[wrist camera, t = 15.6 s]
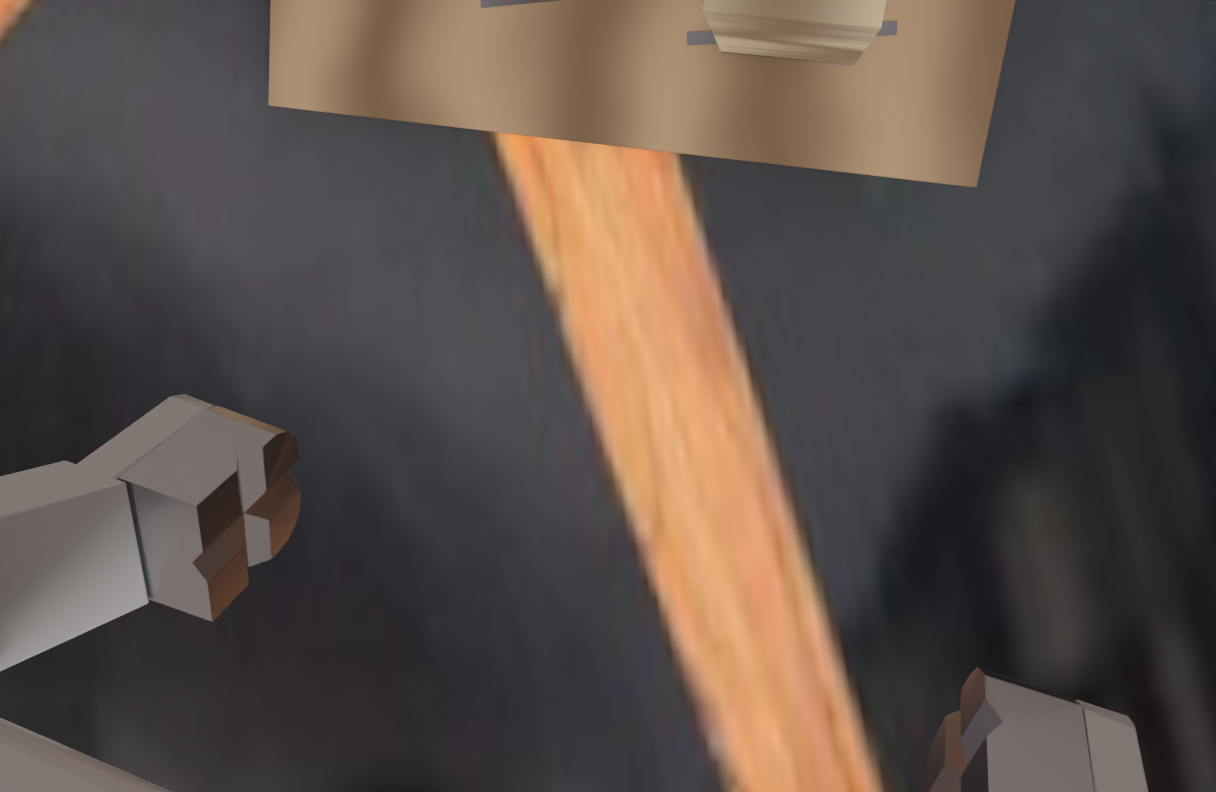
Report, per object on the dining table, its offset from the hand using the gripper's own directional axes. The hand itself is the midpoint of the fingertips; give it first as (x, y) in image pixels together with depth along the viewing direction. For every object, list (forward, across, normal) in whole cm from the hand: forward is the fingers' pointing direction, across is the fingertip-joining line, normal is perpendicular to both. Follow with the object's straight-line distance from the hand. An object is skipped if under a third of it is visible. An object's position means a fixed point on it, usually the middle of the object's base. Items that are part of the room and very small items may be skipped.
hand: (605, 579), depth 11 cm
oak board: (+27, +8, -1) cm, 28 cm away
